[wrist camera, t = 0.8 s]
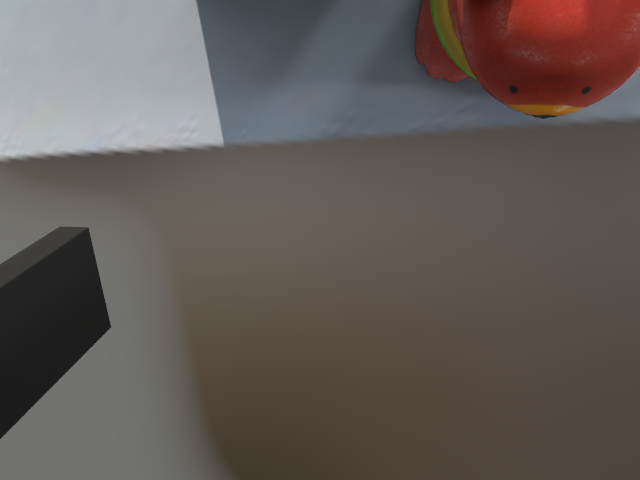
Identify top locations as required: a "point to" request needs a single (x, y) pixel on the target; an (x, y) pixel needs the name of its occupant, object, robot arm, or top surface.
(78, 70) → the top surface
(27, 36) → the top surface
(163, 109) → the top surface
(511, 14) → the stacking bear
